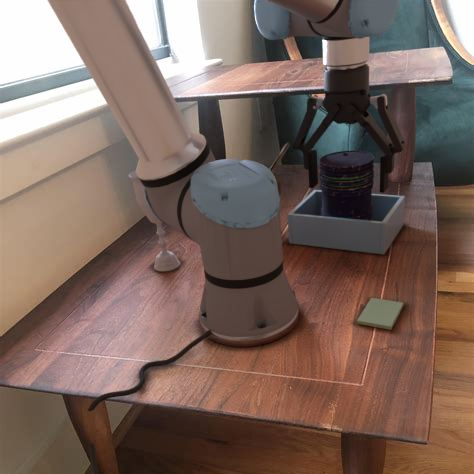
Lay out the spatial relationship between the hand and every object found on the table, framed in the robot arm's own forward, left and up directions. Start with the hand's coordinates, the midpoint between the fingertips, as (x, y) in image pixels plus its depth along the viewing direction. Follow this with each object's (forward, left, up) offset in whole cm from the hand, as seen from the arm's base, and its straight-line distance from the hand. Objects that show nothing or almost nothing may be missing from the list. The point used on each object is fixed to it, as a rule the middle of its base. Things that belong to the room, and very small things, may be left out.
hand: (347, 187), depth 102 cm
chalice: (-22, +28, -10) cm, 37 cm away
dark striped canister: (0, 0, -10) cm, 10 cm away
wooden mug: (-3, +17, -10) cm, 20 cm away
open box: (0, 0, -9) cm, 9 cm away
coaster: (-27, -14, -9) cm, 32 cm away
